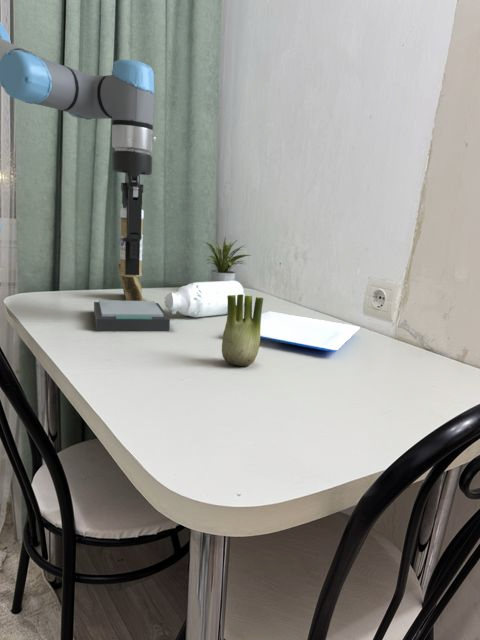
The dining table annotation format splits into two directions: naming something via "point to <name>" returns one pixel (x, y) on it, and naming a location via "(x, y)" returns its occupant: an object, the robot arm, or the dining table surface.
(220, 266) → the house plant
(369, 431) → the dining table surface
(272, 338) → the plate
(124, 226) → the sprinkles bottle
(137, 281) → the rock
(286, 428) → the dining table surface
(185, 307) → the white bottle
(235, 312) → the fennel bulb
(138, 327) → the scale
